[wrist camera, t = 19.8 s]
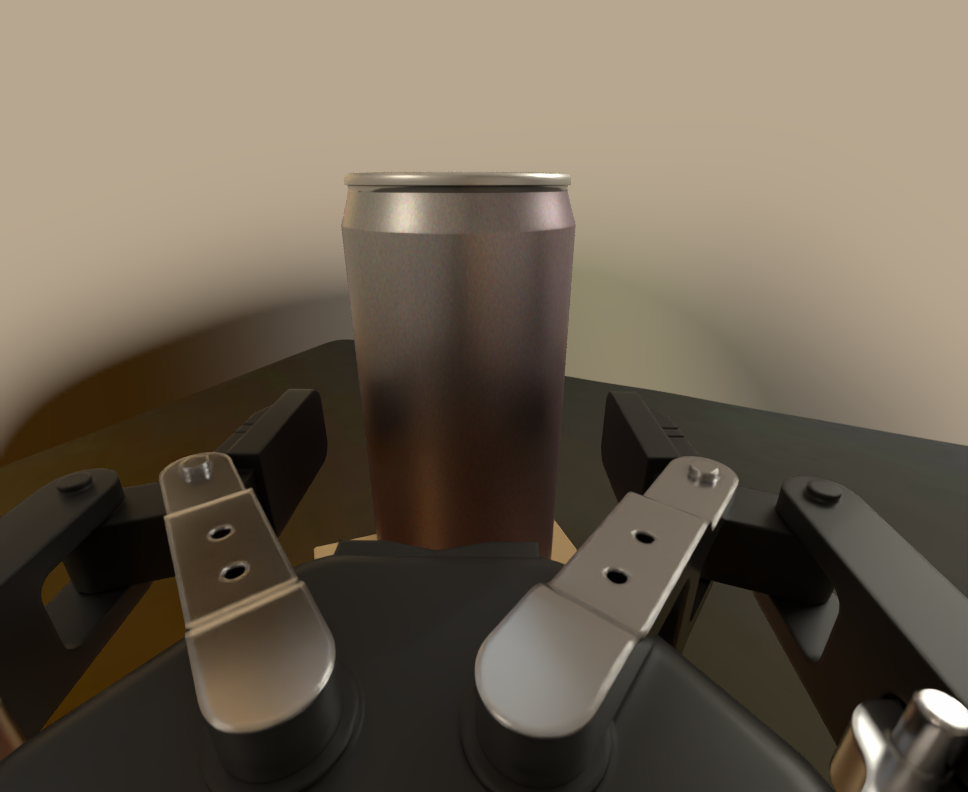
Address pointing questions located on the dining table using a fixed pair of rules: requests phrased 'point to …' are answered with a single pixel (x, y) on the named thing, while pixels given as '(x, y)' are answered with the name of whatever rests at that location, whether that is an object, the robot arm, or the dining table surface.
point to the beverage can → (461, 349)
